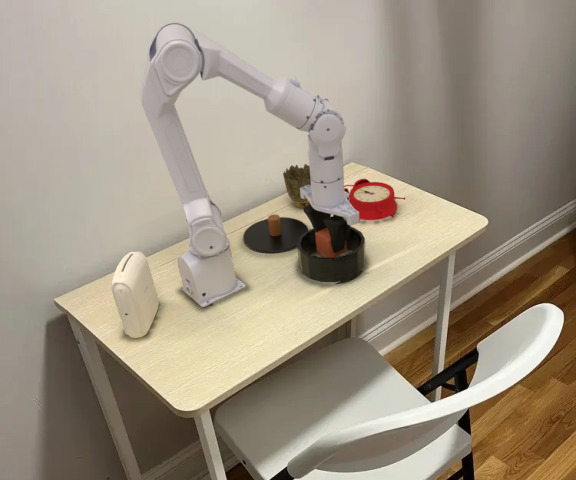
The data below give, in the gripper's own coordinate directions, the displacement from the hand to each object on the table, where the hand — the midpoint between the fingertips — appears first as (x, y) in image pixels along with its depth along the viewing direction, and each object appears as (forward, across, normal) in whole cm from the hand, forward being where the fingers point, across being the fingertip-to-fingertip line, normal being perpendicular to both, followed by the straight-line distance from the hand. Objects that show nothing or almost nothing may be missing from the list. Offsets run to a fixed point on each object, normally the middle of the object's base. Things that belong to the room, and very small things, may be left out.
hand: (331, 245), depth 125 cm
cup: (+5, +23, -10) cm, 26 cm away
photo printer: (+5, +9, +35) cm, 37 cm away
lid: (+4, +16, +2) cm, 17 cm away
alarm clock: (+5, +13, -19) cm, 23 cm away
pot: (+4, 0, 0) cm, 4 cm away
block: (+1, 0, 0) cm, 1 cm away
